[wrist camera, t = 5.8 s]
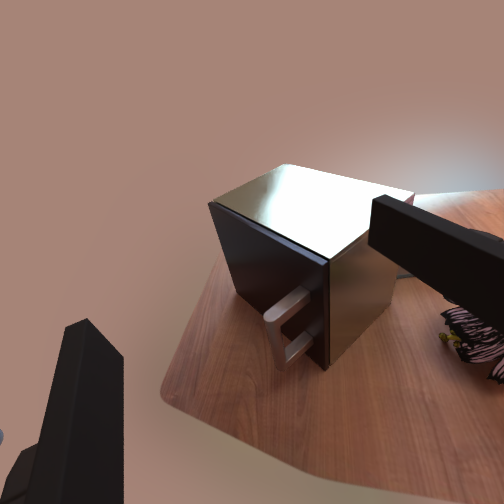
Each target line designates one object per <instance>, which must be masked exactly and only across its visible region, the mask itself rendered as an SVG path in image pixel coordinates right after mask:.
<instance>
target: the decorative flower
mask: <svg viewBox="0 0 504 504" xmlns="http://www.w3.org/2000/svg"><path fill="white" fill-rule="evenodd" d="M443 297H444V299H446V300H447V301H449V302H450V303H453V304H455V305H457V304H456V303H454V302H453V301H451V300H450V299H448V298H447V297H445V296H444V295H443ZM440 315H442V316H443V317H444V318H445V319H446V321H445V325H449V328H450V333H451V334H452V335H449V336H447V335H446V334H445V333H440V334H439V338H440V339H441V340H442V341H444V342H448V341H449V339H450V340H461V342H459V341H455V342H453V343H454V344H453V346H455V347H456V348H455V349H456V351H457V353H458V355H459V357H460V358H461V361H464V362H466V363H471V364H480V363H485V362H491V361H494V360H496V359H499V358H501V357H502V358H501V359H500V361H499V362H498V363H497V364H496V365H495V366H494V367H493V369H492V370H491V372H490V373H489V375H488V377H487V379H492V380H496V381H497V382H498V385H500V384H502V383H503V384H504V335H503V334H501V333H500V332H498V331H497V330H495V329H493V328H492V327H490V326H489V325H487V324H486V323H484V322H483V321H481V320H480V319H478V318H477V317H475V316H474V315H472V314H471V313H469V312H468V311H466V310H465V309H463V308H462V307H457V308H452V309H449V310H446V311H445V312H443V313H441V314H440Z"/></svg>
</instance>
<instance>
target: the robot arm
mask: <svg viewBox="0 0 504 504" xmlns="http://www.w3.org/2000/svg"><path fill="white" fill-rule="evenodd" d="M367 245H368V246H370V247H371V248H373V249H374V250H376V251H377V252H379V253H380V254H382V255H383V256H385V257H386V258H388V259H389V260H391V261H392V262H394V263H395V264H397V265H398V266H400V267H402V268H403V269H405V270H406V271H408V272H409V273H411V274H412V275H414V276H415V277H417V278H418V279H420V280H421V281H423V282H424V283H426V284H427V285H429V286H430V287H432V288H433V289H435V290H436V291H438V292H439V293H441V294H442V295H444V296H445V297H447V298H448V299H450V300H451V301H453V302H454V303H456V304H457V305H459V306H460V307H462V308H463V309H465V310H466V311H468V312H469V313H471V314H472V315H474V316H475V317H477V318H478V319H480V320H481V321H483V322H484V323H486V324H487V325H489V326H490V327H492V328H493V329H495V330H497V331H498V332H500V333H501V334H503V335H504V240H503V239H502V238H500V237H497V236H495V235H492V234H490V233H487V232H483V231H478V230H474V229H467V228H465V227H463V226H460V225H458V224H456V223H453V222H451V221H448V220H446V219H444V218H441V217H439V216H437V215H434V214H432V213H430V212H427V211H425V210H422V209H420V208H418V207H415V206H413V205H411V204H408V203H406V202H403V201H401V200H399V199H396V198H394V197H392V196H389V195H387V194H383V195H380V196H378V197H375V198H373V199H372V204H371V213H370V223H369V233H368V242H367ZM123 366H124V358H123V356H122V355H121V354H120V353H119V352H118V351H117V350H116V349H115V347H114V346H113V345H112V344H111V343H110V342H109V341H108V340H107V339H106V338H105V337H104V336H103V335H102V334H101V332H99V330H98V329H97V328H96V327H95V326H94V325H93V324H92V323H91V322H90V321H89V320H88V319H87V318H86V319H84V320H81V321H79V322H77V323H74V324H72V325H70V326H67V327H66V328H65V331H64V336H63V340H62V344H61V349H60V353H59V357H58V361H57V365H56V369H55V374H54V378H53V382H52V386H51V391H50V395H49V399H48V403H47V407H46V412H45V416H44V420H43V424H42V429H41V433H40V437H39V441H38V443H37V444H35V445H33V446H31V447H29V448H27V449H25V450H23V451H21V453H20V455H19V457H18V458H17V460H16V462H15V464H14V466H13V467H12V469H11V471H10V473H9V474H8V476H7V479H6V482H5V485H4V488H3V492H2V495H1V499H0V504H124V433H123V432H124V393H123V392H124V378H123V377H124V370H123V369H124V367H123ZM2 441H3V432H2V430H1V429H0V445H1V443H2Z"/></svg>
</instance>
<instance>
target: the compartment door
mask: <svg viewBox="0 0 504 504" xmlns="http://www.w3.org/2000/svg"><path fill="white" fill-rule="evenodd" d="M208 206H209V209H210V212H211V216H212V219H213V222H214V225H215V228H216V231H217V234H218V237H219V240H220V243H221V246H222V249H223V252H224V255H225V258H226V261H227V264H228V268H229V271H230V274H231V277H232V280H233V283H234V286H235V289H236V292H237V293H238V294H239V295H240V296H241V297H242V298H243V299H245V300H246V301H247V302H248V303H249V304H250V305H251V306H252V307H254V308H255V309H256V310H257V311H258V312H259V313H260V314H261V315H263V319H264V322H265V326H266V330H267V334H268V338H269V342H270V346H271V350H272V354H273V357H274V361H275V365H276V368H277V370H278V371H281V372H283V371H285V370H287V369H288V368H289V367H290V366H291V365H292V364H293V363H294V362H295V361H296V360H297V359H298V358H299V357H300V356H301V355H302V354H304V353H305V354H306V355H307V356H309V357H310V358H311V359H312V360H313V361H314V362H315V363H316V364H318V365H319V366H320V367H321V368H322V369H323V370H324V371H326V370H327V369H328V368H329V297H328V261H326V260H324V259H323V258H321V257H319V256H317V255H315V254H313V253H311V252H309V251H307V250H305V249H303V248H301V247H299V246H297V245H296V244H294V243H292V242H290V241H288V240H286V239H284V238H282V237H280V236H278V235H276V234H274V233H272V232H270V231H269V230H267V229H265V228H263V227H261V226H259V225H257V224H255V223H253V222H251V221H249V220H247V219H245V218H243V217H242V216H240V215H238V214H236V213H234V212H232V211H230V210H228V209H226V208H224V207H222V206H220V205H218V204H216V203H215V202H209V203H208ZM281 332H282V333H283V334H284V335H285V336H286V337H287V338H288V339H290V340H291V341H292V342H291V343H290V344H289V345H288V346H287V347H286V348H284V343H283V338H282V333H281Z"/></svg>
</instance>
